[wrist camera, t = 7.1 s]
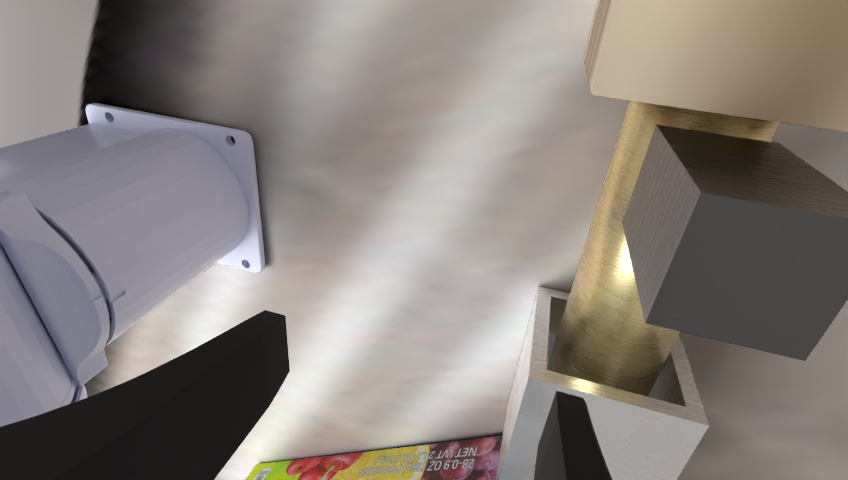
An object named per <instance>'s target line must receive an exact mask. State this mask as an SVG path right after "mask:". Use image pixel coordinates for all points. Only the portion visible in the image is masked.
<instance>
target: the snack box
mask: <svg viewBox="0 0 848 480" xmlns="http://www.w3.org/2000/svg"><path fill="white" fill-rule="evenodd" d="M502 436H503V435H502ZM502 436H494V437H486V438H478V439H470V440H462V441H453V442H445V443H437V444H429V445H420V446H411V447H402V448H394V449H385V450H377V451H368V452H359V453H350V454H341V455H332V456H323V457H314V458H305V459H297V460H288V461H278V462H269V463H258V464H257V465H256V466H255V467H254V469H253V470H252V472H251V473H250V475H249V476H248V477H247V479H246V480H496V475H497V468H498V462H499V455H500V449H501V442H502Z"/></svg>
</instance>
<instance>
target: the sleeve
mask: <svg viewBox="0 0 848 480" xmlns="http://www.w3.org/2000/svg"><path fill="white" fill-rule="evenodd" d="M569 294H570V293H566V292H562V291H557V290H553V289H549V288H544V287H540V286H538V290H537V293H536V297H535V301H534V305H533V309H532V312H531V316H530V320H529V324H528V327H527V331H526V335H525V339H524V343H523V346H522V350H521V354H520V358H519V362H518V365H517V369H516V373H515V377H514V380H513V384H512V388H511V392H510V396H509V399H508V403H507V410H506V416H505V423H504V429H503V436H502V442H501V449H500V455H499V462H498V468H497V475H496V480H534V473H535V465H536V457H537V449H538V444H539V441H540V438H541V435H542V432H543V429H544V426H545V423H546V420H547V417H548V414H549V411H550V408H551V405H552V402H553V399H554V396H555V393H556V391H560V392H564V393H567V394H571V395H574V396H578V397H582V398H583V399H584V400H585V402H586V404H587V408H588V411H589V415H590V418H591V422H592V425H593V428H594V431H595V434H596V437H597V440H598V443H599V446H600V448H601V451H602V454H603V457H604V459H605V462H606V465H607V467H608V470H609V472H610V475H611V477H612V480H677V478H678V477H679V475H680V473H681V472H682V470H683V468H684V467H685V465H686V463H687V462H688V460H689V459H690V457H691V455H692V454H693V452H694V450H695V449H696V447H697V445H698V444H699V442H700V440H701V439H702V437H703V436H704V434H705V432H706V431H707V429H708V427H709V423H708V420H707V417H706V414H705V411H704V408H703V405H702V402H701V398H700V395H699V392H698V389H697V386H696V383H695V380H694V377H693V374H692V371H691V367H690V364H689V361H688V358H687V355H686V352H685V349H684V346H683V343H682V340H681V336H680V333H679V334H678V336H677V338H676V340H675V342H674V344H673V346H672V348H671V351H670V353H669V355H668V357H667V359H666V361H665V363H664V365H663V367H662V369H661V371H660V373H659V375H658V377H657V379H656V382H655V384H654V386H653V388H652V390H651V392H650V394H649V396H648V397H647V396H643V395H639V394H635V393H632V392H628V391H624V390H620V389H617V388H613V387H609V386H605V385H601V384H598V383H594V382H590V381H586V380H583V379H579V378H575V377H571V376H567V375H564V374H560V373H556V372H552V371H549V370H546V369H547V366H548V362H549V359H550V356H551V353H552V349H553V346H554V343H555V340H556V336H557V333H558V330H559V327H560V324H561V320H562V317H563V314H564V311H565V307H566V304H567V301H568V298H569Z"/></svg>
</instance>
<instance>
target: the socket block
mask: <svg viewBox="0 0 848 480" xmlns="http://www.w3.org/2000/svg"><path fill="white" fill-rule="evenodd" d="M584 62H585V67H586V71H587V76H588V81H589V86H590V90H591V95H595V96H602V97H609V98H616V99H623V100H630V101H637V102H644V103H651V104H657V105H664V106H671V107H678V108H685V109H692V110H699V111H706V112H713V113H719V114H726V115H733V116H740V117H747V118H754V119H761V120H768V121H775V122H781V123H788V124H795V125H802V126H809V127H816V128H823V129H830V130H837V131H843V132H848V0H598V4H597V8H596V12H595V16H594V20H593V24H592V28H591V32H590V36H589V40H588V44H587V48H586V52H585V56H584Z"/></svg>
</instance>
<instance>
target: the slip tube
mask: <svg viewBox="0 0 848 480" xmlns="http://www.w3.org/2000/svg"><path fill="white" fill-rule="evenodd" d="M780 123H781V122H775V121H768V120H761V119H754V118H747V117H740V116H733V115H726V114H719V113H713V112H706V111H699V110H692V109H685V108H678V107H671V106H664V105H657V104H651V103H644V102H637V101H629V104H628V107H627V110H626V114H625V117H624V120H623V123H622V127H621V130H620V133H619V136H618V140H617V143H616V146H615V149H614V152H613V156H612V159H611V162H610V165H609V169H608V172H607V175H606V178H605V181H604V185H603V188H602V191H601V194H600V198H599V201H598V204H597V207H596V211H595V214H594V217H593V220H592V223H591V227H590V230H589V233H588V236H587V240H586V243H585V246H584V249H583V253H582V256H581V259H580V262H579V265H578V269H577V272H576V275H575V278H574V282H573V285H572V288H571V291H570V294H569V298H568V301H567V304H566V307H565V311H564V314H563V317H562V320H561V324H560V327H559V330H558V333H557V336H556V340H555V343H554V346H553V349H552V353H551V356H550V359H549V362H548V366H547V369H546V370H549V371H552V372H556V373H560V374H564V375H567V376H571V377H575V378H579V379H583V380H586V381H590V382H594V383H598V384H601V385H605V386H609V387H613V388H617V389H620V390H624V391H628V392H632V393H635V394H639V395H643V396H647V397H648V396H649V394H650V392H651V390H652V388H653V386H654V384H655V382H656V379H657V377H658V375H659V373H660V371H661V369H662V367H663V365H664V363H665V361H666V359H667V357H668V355H669V353H670V351H671V348H672V346H673V344H674V342H675V340H676V338H677V336H678V334H679V332H685V333H689V334H693V335H697V336H702V337H706V338H710V339H714V340H719V341H723V342H727V343H731V344H736V345H740V346H744V347H748V348H753V349H757V350H761V351H765V352H770V353H774V354H778V355H782V356H787V357H791V358H795V359H799V360H804V361H805V360H806V359H807V357H808V356H809V354H810V353H811V352H812V350H813V349H814V347H815V346H816V344H817V343H818V341H819V340H820V339H821V337H822V336H823V334H824V333H825V331H826V330H827V328H828V327H829V326H830V324H831V323H832V321H833V320H834V318H835V317H836V315H837V314H838V313H839V311H840V310H841V308H842V307H843V305H844V304H845V302H846V301H847V300H848V192H847V191H846V190H844V189H843V188H841V187H840V186H839V185H837V184H836V183H834V182H833V181H831V180H830V179H829V178H827V177H826V176H824V175H823V174H822V173H820V172H819V171H817V170H816V169H815V168H813V167H812V166H810V165H809V164H808V163H806V162H805V161H803V160H802V159H801V158H799V157H798V156H796V155H795V154H793V153H792V152H791V151H789V150H788V149H786V148H785V147H784V146H782V145H781V144H779V143H774V142H772V140H773V138H774V136H775V133H776V131H777V129H778V127H779V125H780Z"/></svg>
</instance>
